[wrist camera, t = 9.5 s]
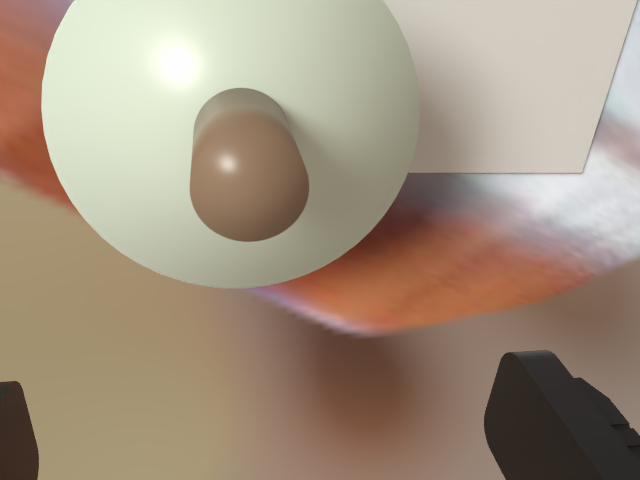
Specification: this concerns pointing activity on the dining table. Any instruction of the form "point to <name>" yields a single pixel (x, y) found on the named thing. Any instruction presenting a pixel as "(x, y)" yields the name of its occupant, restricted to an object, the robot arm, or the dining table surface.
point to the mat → (510, 80)
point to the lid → (231, 130)
